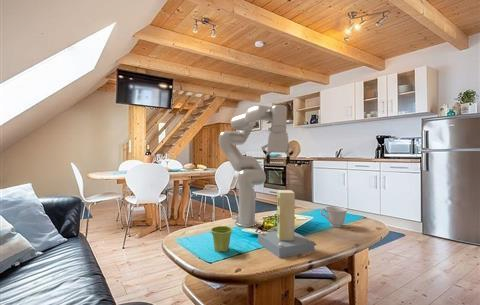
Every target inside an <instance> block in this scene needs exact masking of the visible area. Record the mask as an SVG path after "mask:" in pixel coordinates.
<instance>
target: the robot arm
mask: <svg viewBox="0 0 480 305" xmlns="http://www.w3.org/2000/svg"><path fill="white" fill-rule="evenodd" d="M287 113H288V107H287V106H286V105H283V104H275V105H273V106H267V105H255V106H252V107H249V108H248V109H247V110H246V111H245V113H241V114H238V115H236V116H233V117H232V119H231V120H230V126H231V128H232V129H234V130H235V131H234V130H225V131H222V132H221V133H220V134H219V136H218V144H219V148H220V149H221V150H222V152H223V153H224V155H225V156H226V158H227V160H228V161H229V163H230V164H231V167H232V168H233V170H234V171H236V172H238V174H237V178H236V179H237V183H238V215H236V214H232V216H231V218H232V220H236V221H235V225H236V226H238V227H243V228H251V227H250V226H253V225H255V224H257V225H258V220H257V221H256V191H255V189H254V186H261V185H263V184H265V182H266V180H267V177H266V176H267V175H266V173H265V172H266V171H264V169H263V167H262V166H261V164H260V163H259V161H258V160H257V159H256V157H254V156H252V155H243V154H242V153H241V151H240V150H239V148H238V147H236V146H241V145H244V144H245V143H246V141H247V140H248V138H249V136H250V134H251V132H252V131H253V128H254V126H256V124H257V121H265V122H271V124H270V127H268V131H269V133H268V137H267V143H266V144H265V145H263V146H261V150H262V152H263V154H264V155H265V157H266V159H265V162H266V163H267V164H270V163H271V154H272V153H281V154H282V153H285V155H286V157H285V164H286V165H290V162H291V156H293V154H294V153H295V151H296V150H297V148H296V147H295V146H293V145H291V144H289V143H290V142H289V135H288V134H289V133H288V132H287V116H288V114H287ZM235 145H236V146H235ZM266 148H267V149H266ZM289 148H290V149H291V151H289Z"/></svg>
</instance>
